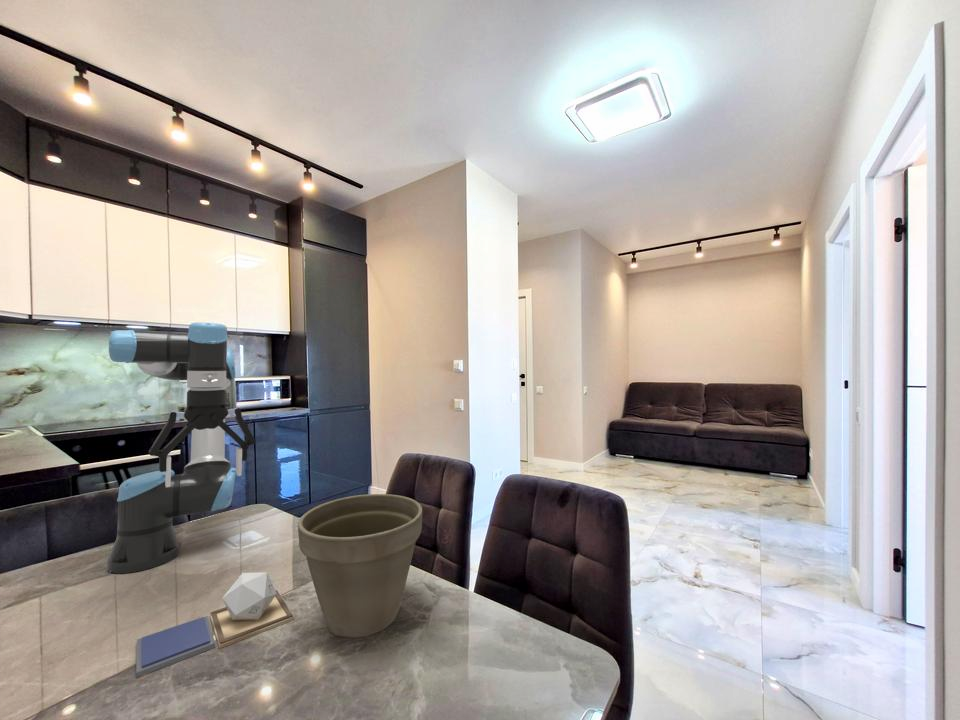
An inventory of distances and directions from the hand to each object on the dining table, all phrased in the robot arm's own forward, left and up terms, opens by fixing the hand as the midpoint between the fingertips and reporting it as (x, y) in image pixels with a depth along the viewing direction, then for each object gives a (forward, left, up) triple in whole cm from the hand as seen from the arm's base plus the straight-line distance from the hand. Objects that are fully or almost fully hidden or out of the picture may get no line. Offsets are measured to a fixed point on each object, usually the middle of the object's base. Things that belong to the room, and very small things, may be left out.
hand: (205, 480), depth 91 cm
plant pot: (+33, +24, -26) cm, 48 cm away
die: (+18, +6, -26) cm, 32 cm away
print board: (+18, +7, -26) cm, 32 cm away
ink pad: (+18, -6, -26) cm, 32 cm away
